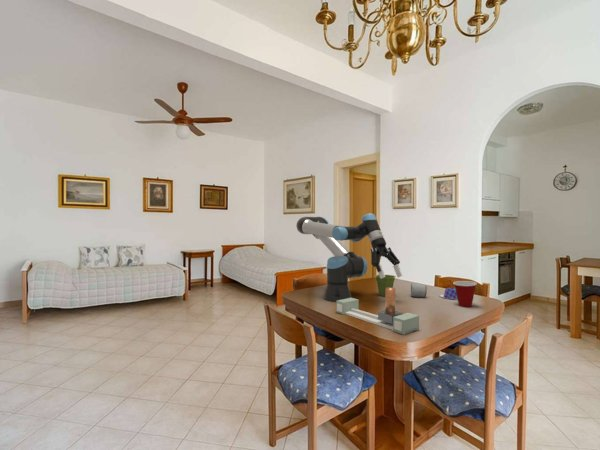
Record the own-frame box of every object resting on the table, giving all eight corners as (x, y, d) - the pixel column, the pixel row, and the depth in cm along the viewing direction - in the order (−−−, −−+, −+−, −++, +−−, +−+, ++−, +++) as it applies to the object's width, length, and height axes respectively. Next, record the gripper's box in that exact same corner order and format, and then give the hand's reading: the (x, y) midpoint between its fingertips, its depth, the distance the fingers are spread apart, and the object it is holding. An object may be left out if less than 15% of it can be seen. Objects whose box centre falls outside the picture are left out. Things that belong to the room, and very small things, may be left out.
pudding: (466, 300, 168) (466, 291, 168) (443, 300, 170) (443, 290, 170) (459, 295, 180) (459, 286, 180) (437, 295, 182) (437, 286, 182)
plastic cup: (448, 303, 163) (448, 280, 163) (468, 302, 163) (468, 280, 163) (460, 308, 152) (460, 284, 152) (481, 308, 153) (481, 284, 153)
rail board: (335, 312, 146) (335, 300, 146) (351, 308, 152) (351, 297, 152) (403, 335, 116) (403, 320, 116) (419, 329, 122) (419, 315, 122)
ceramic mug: (427, 298, 172) (427, 285, 172) (411, 297, 174) (411, 284, 174) (424, 294, 182) (424, 281, 182) (410, 294, 184) (410, 281, 184)
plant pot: (391, 292, 187) (391, 274, 187) (398, 297, 175) (398, 277, 175) (372, 293, 186) (372, 274, 186) (378, 297, 174) (378, 278, 174)
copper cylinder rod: (378, 319, 128) (378, 288, 128) (388, 316, 132) (388, 285, 132) (392, 323, 122) (392, 290, 122) (402, 320, 127) (402, 288, 127)
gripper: (366, 236, 156) (380, 275, 147) (397, 237, 171) (412, 273, 162) (356, 242, 161) (370, 280, 152) (387, 243, 176) (401, 278, 167)
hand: (391, 277), depth 157 cm, fingers open, 13 cm apart
